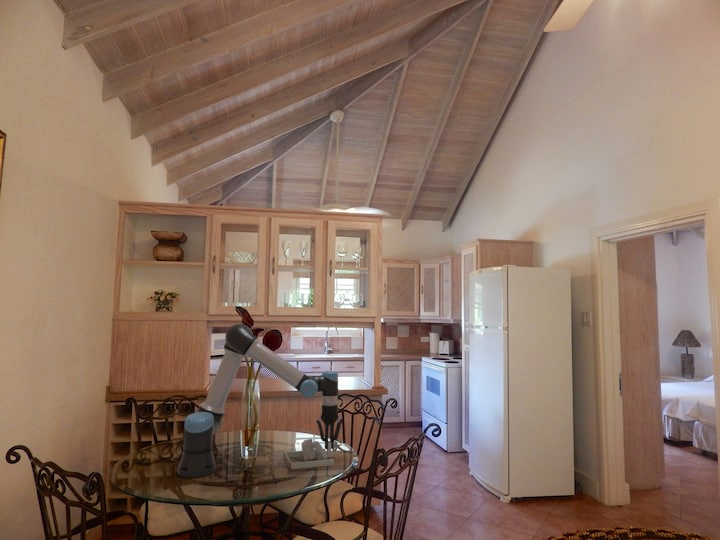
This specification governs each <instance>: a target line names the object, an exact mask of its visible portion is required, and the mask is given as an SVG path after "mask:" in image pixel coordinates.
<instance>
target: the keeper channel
mask: <svg viewBox="0 0 720 540" xmlns="http://www.w3.org/2000/svg"><path fill="white" fill-rule="evenodd" d="M323 449H324V451H325V452H326V449H325V448H323ZM314 451H315V456H320V455H319V454H318V453H317V451H316V450H315V449H314ZM297 457H298V458H300V457H303V452H302V450H294V451H293V450H292V451H286V450H283V459H284V461H285V464H286V466H287V468H288V469H289V470H298V469H299V470H300V469H308V468H309V469H310V468H321V466H322V467H330V466H335V459H334V458H331V459H329V458H328V459H325V460H322V459H321V460H309V461H298V462H296V461H295V462H292V461H291V458H297Z"/></svg>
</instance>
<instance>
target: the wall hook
mask: <svg viewBox="0 0 720 540" xmlns="http://www.w3.org/2000/svg"><path fill="white" fill-rule="evenodd" d="M324 449H325V448H323V446H322V445H321V443H320V442H319V441H317V440H315V441H313V438H309V439H305V440H303V441H302V442H301V451H302V452H303V456H302V457H303V460H304V461H303V462H306V461H314V458H315V457H316V455H315V451H314V450H316V451H317V453H318V454H319V455H318V456H319V457H320V458H321V460H327V458H329V457H328V455H327V451H326V450H325V451H324Z"/></svg>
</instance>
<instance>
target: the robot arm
mask: <svg viewBox="0 0 720 540" xmlns="http://www.w3.org/2000/svg"><path fill="white" fill-rule="evenodd" d="M244 324H245V323H237V324H232V325H231V326H230V327H229V328H228V329H227V330H226V333H225V338H224V339H225V344H224V346H223V350H224V354H223V357H222V360H221V362H220V364H219V367H218V369H217V371H216V375H215V377H214V379H213V381H212V384H211V386H210V389H209V391H208V394H207V396H206V399H205V401H204V402H201V403H200V405H199V406H198V409H197V412H196V411H195V412H194V413H190V414H189V415H187V416H186V417H185V420H184V423H183V424H184V426H183V427H184V428H183V429H184V430H183V432H184V433H183V447H182V449H183V450H182V452H183V453H182V455H181V456H182V457H181V459H180V461H179V463H178V466H177V476H179V477H180V478H181V477H182V478H189V479H191V478H201V477H206V476H209V475H211V474H213V473H215V472H216V467H217V465H216V460H215V457H214V453H213V439H214V435H215V434H216V433H217V432H218V431H219V430H220V428H221V425H222V421H223V418H224V416H225V412H226V410H225V408H224V407H225V404H226V401H227V399H228V396H229V394H230V391H231V389H232V386H233V384H234V382H235V378H236V376H237V374H238V371H239V368H240V366H241V364H242V361H243V359H244V358H246V357H250V358H251V359H252V360H253V361H255V362H256V363H258V364H259V365H261V366H262V367H263V368H265V369H266V370H268V371H269V372H271V373H272V374H274V375H275V376H277V377H278V378H280V379H281V380H282V381H284V382H285V383H287V384H288V385H290V386H291V387H293V388H294V389H295V390H297V392H299V393H301V395H302V396H303V397H304V398H313V397H315V395H316V394H317V393H318V392H319V393H321V404H322V405H321V415H320V418H318V419H316V420H315V422H316V424H317V425H318V426H317V427H318V431H319V436H320V437H319V438H320V440H321V441H322V442H324V449H325V450H326V454H327V455H328V457H327V458H332V450H333V449H334V442H335V441H337V440H338V439H339V434H340V429H341V424H342V423H343V421H344V420H343V419H342V418H340V417H339V414H338V412H339V411H338V404H339V403H338V402H339V400H338V399H339V398H338V394H339V393H338V392H339V374H338V372H337V371H335V370H324V371H322V374H321V375H307V374H306V373H304V372H303V371H301V370H299V369H298V368H297V367H296V366H294V365H292V363H290V362H289V361H287V360H285V359H284V358H283V357H281V356H279V355H278V354H277V353H275V352H274V351H273V350H271V349H270V348H268V347H267V346H266V345H265V344H263V343H261V342H260V340H259V338H258V337H257V336H256V335H255V336H254V335H253V332H252V329H253V328H252V327H251V328H252V329H251V328H249V327H248V326H246V325H244ZM322 422H323V424H324V430H323V425H322ZM335 424H336V426H335ZM335 427H336V428H335Z"/></svg>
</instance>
